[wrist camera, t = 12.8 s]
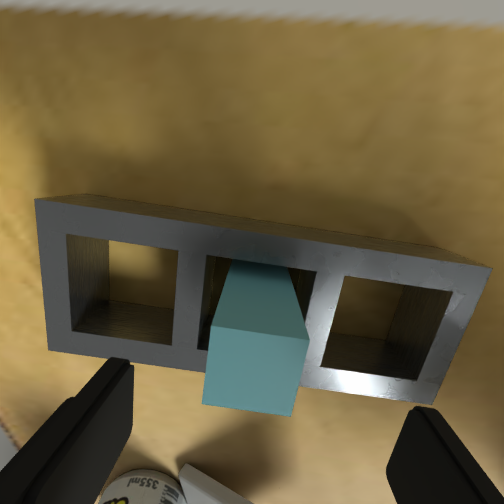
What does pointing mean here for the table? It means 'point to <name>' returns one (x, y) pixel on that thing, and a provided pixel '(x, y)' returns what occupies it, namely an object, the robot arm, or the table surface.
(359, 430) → the table surface
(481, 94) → the table surface
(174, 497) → the beverage can
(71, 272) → the hole rail
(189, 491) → the light switch
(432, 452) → the robot arm
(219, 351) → the square peg
